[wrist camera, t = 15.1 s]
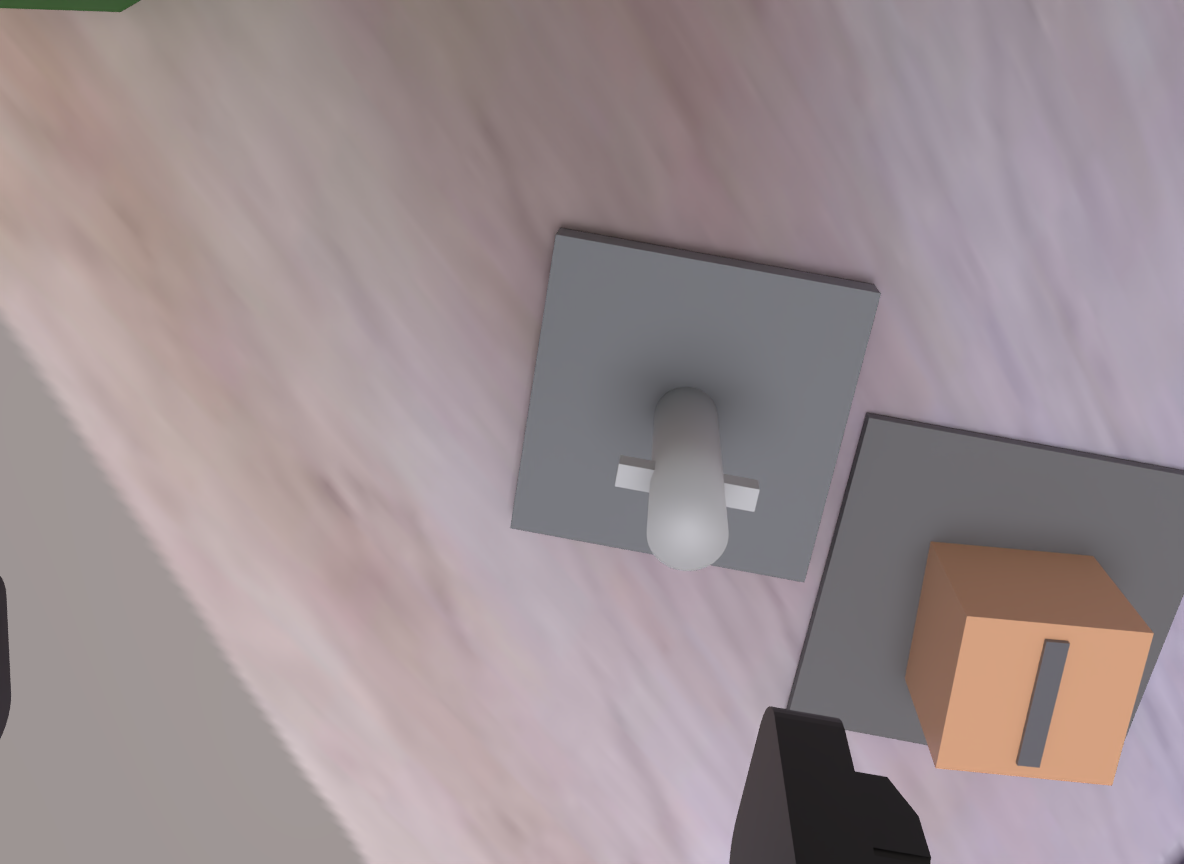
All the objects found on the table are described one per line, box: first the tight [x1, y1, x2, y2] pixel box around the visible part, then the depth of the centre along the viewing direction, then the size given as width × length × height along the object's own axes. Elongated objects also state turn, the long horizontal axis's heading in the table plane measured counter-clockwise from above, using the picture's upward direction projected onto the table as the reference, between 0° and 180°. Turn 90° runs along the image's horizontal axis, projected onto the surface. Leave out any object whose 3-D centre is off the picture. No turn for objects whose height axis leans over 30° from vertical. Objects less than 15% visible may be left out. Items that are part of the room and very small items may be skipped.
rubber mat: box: [787, 413, 1184, 745], centre depth 45 cm, size 14×14×1 cm
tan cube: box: [905, 542, 1154, 786], centre depth 42 cm, size 6×6×6 cm
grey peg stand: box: [510, 228, 881, 582], centre depth 38 cm, size 12×12×12 cm
